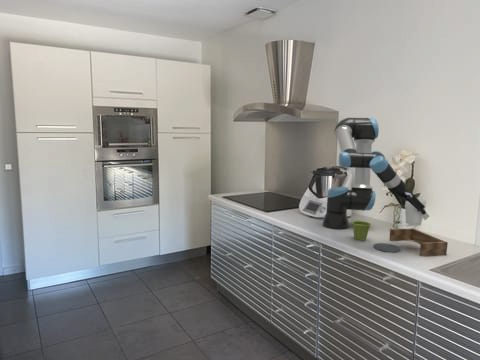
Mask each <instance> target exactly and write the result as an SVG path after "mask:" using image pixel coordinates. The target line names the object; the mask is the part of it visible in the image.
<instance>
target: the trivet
mask: <svg viewBox="0 0 480 360" xmlns="http://www.w3.org/2000/svg"><path fill="white" fill-rule="evenodd" d="M373 248H374V249H375V250H378V251H380V252H386V253H399V252H400V251H401V248H400V247H399V246H397V245H395V244H391V243H383V242H382V243H381V242H379V243H375V244H373Z"/></svg>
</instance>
